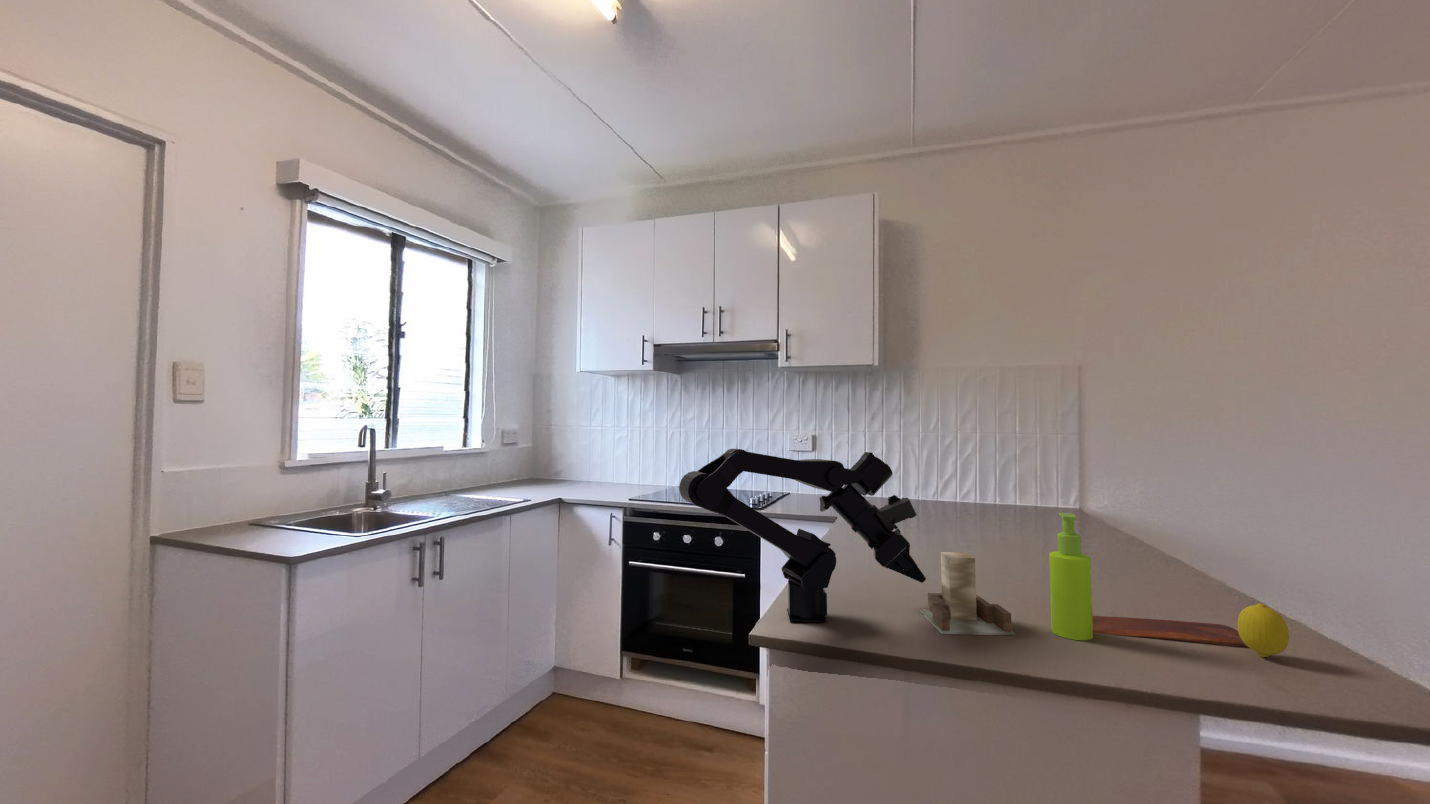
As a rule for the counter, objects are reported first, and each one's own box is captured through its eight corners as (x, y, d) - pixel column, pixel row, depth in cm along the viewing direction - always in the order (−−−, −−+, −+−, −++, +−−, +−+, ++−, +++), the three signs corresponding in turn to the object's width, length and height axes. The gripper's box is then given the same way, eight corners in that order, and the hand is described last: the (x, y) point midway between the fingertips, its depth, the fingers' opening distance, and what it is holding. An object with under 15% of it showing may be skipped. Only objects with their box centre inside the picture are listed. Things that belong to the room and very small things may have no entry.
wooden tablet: (1228, 631, 95) (1228, 621, 95) (1266, 653, 86) (1265, 643, 86) (1053, 615, 103) (1053, 606, 103) (1070, 634, 94) (1069, 624, 94)
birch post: (950, 620, 98) (949, 557, 99) (942, 611, 103) (940, 552, 103) (976, 620, 98) (975, 558, 98) (966, 612, 102) (965, 552, 103)
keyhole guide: (941, 634, 93) (941, 613, 93) (919, 611, 104) (919, 593, 104) (1014, 635, 92) (1014, 614, 92) (984, 612, 104) (983, 593, 104)
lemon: (1296, 668, 79) (1293, 611, 79) (1244, 660, 82) (1241, 605, 82) (1283, 655, 84) (1280, 601, 84) (1234, 647, 86) (1231, 596, 87)
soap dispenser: (1088, 628, 95) (1084, 512, 96) (1096, 643, 89) (1091, 518, 89) (1049, 623, 97) (1045, 510, 98) (1053, 637, 91) (1049, 515, 92)
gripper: (894, 488, 95) (964, 555, 92) (883, 478, 113) (941, 535, 110) (848, 532, 96) (915, 600, 93) (844, 516, 114) (901, 572, 111)
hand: (919, 574), depth 102 cm, fingers open, 9 cm apart
